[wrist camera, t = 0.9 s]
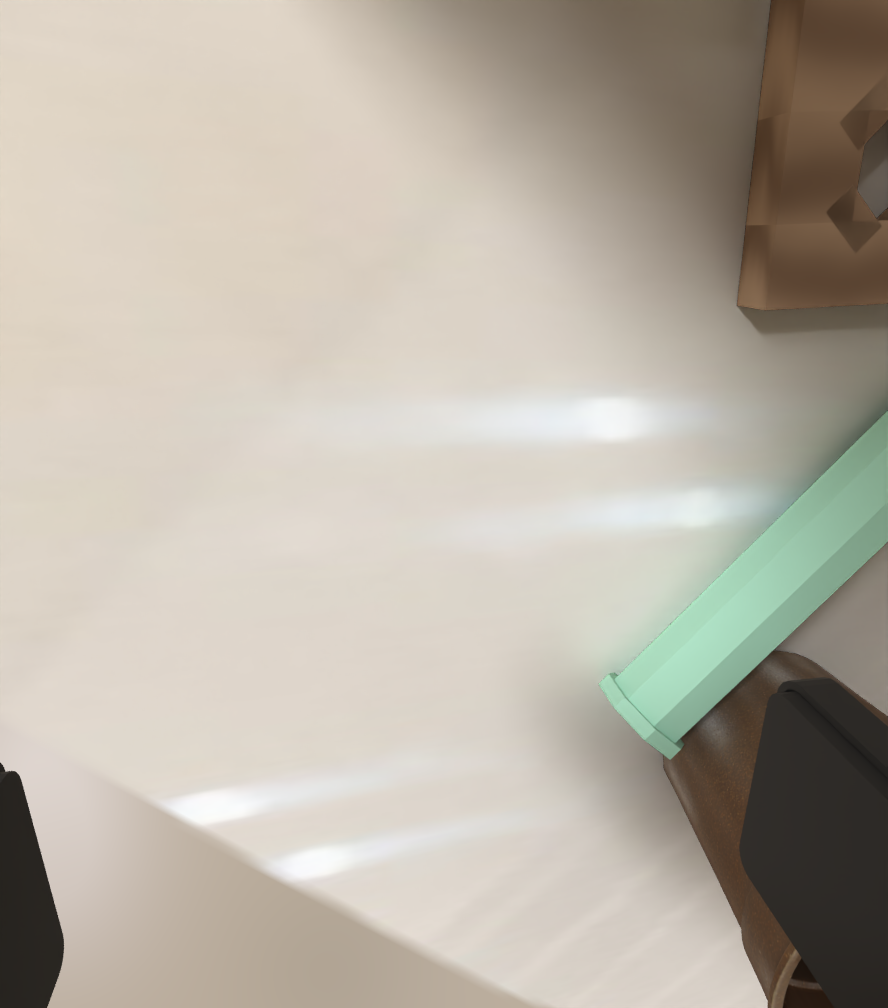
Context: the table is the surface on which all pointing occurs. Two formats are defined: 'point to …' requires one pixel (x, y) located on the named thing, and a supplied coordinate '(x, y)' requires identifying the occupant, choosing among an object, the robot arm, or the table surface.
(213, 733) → the table surface
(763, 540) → the mint green tapered bar
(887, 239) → the socket block
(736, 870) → the plant pot
